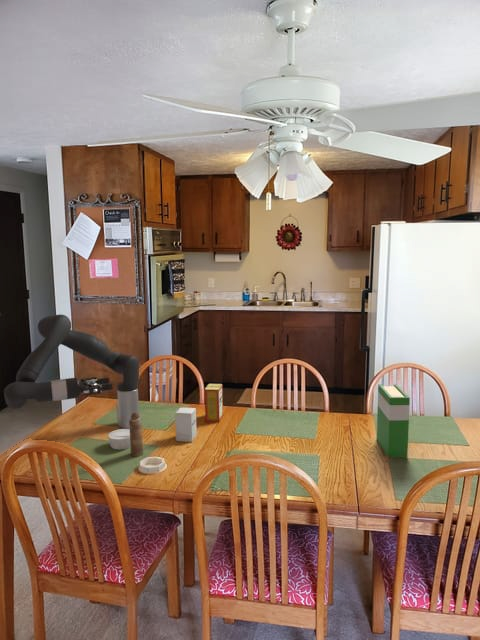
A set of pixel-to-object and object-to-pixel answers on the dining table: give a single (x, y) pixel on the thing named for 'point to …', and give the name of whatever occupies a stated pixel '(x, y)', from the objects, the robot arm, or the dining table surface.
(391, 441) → the hardback book
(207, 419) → the baking soda box
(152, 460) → the ring coaster
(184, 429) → the supplement box
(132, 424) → the pepper mill
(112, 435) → the ramekin
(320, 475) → the dining table surface
